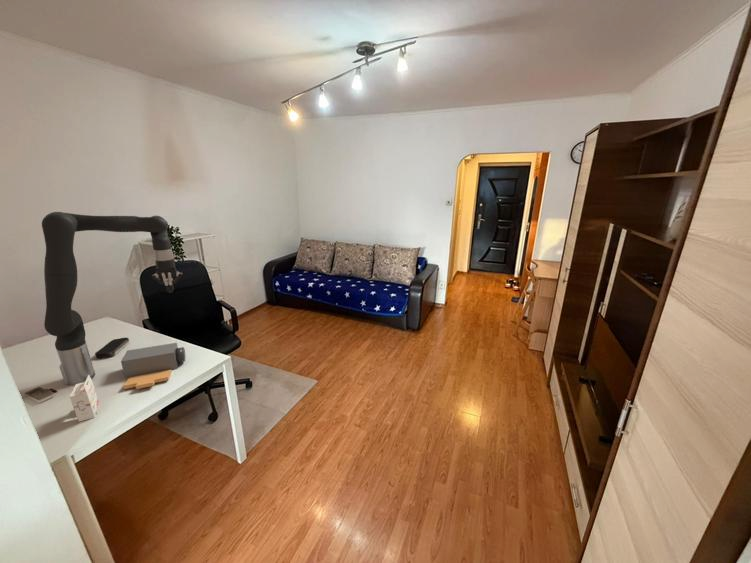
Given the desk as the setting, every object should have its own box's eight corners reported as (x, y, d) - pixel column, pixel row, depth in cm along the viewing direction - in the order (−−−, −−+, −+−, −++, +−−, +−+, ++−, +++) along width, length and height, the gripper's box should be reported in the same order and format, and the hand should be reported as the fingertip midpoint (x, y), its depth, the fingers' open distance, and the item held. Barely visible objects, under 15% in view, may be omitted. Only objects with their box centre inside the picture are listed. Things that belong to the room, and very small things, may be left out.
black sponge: (113, 358, 151) (112, 352, 150) (94, 359, 149) (92, 353, 148) (131, 342, 166) (130, 336, 165) (114, 343, 164) (112, 337, 163)
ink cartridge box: (83, 408, 117) (73, 377, 113) (99, 404, 120) (90, 373, 115) (77, 422, 111) (66, 390, 106) (95, 417, 113) (85, 385, 109)
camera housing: (125, 380, 135) (120, 361, 131) (131, 368, 143) (127, 350, 140) (184, 369, 144) (181, 351, 141) (186, 358, 153) (183, 341, 150)
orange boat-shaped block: (130, 380, 134) (121, 392, 123) (129, 377, 134) (120, 388, 123) (172, 372, 141) (166, 382, 130) (171, 369, 141) (166, 379, 130)
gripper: (145, 261, 135) (152, 296, 141) (179, 259, 141) (185, 292, 146) (149, 257, 142) (155, 291, 147) (181, 255, 147) (186, 288, 153)
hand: (170, 291), depth 147 cm, fingers closed
